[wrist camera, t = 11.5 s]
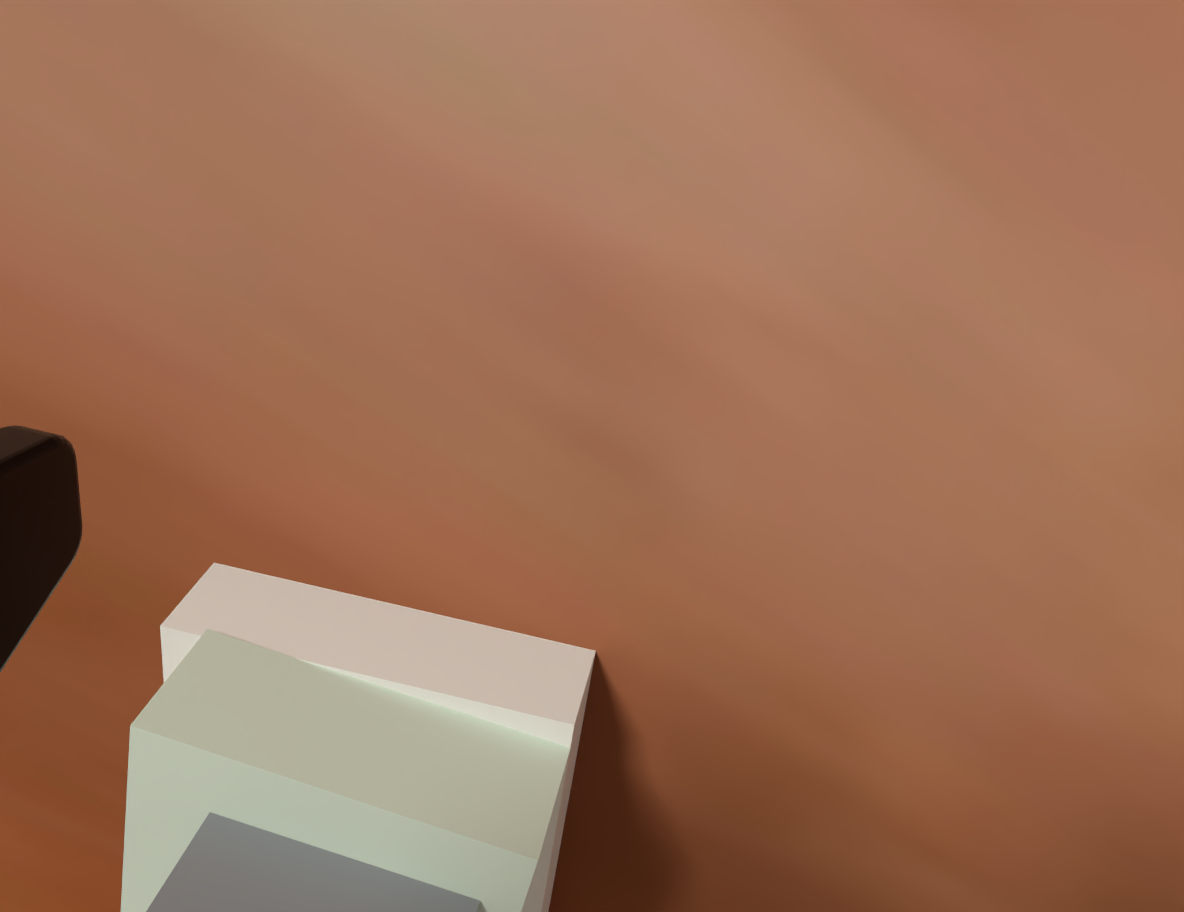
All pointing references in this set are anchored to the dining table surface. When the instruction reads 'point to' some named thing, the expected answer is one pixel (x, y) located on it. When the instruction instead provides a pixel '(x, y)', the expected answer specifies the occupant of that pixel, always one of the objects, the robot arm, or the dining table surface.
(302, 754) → the tower top block
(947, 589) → the dining table surface
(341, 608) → the tower bottom block
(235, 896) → the gray block
